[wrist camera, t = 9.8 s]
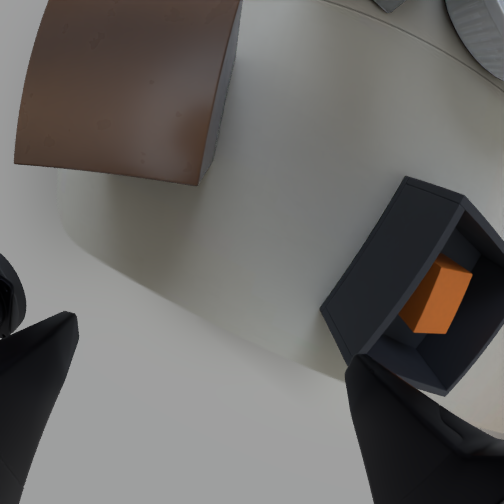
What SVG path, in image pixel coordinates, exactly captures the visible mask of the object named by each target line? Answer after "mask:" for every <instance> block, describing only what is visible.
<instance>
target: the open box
mask: <svg viewBox="0 0 504 504" xmlns="http://www.w3.org/2000/svg"><path fill="white" fill-rule="evenodd" d="M440 253H442V254H444V255H446V256H447V257H449V258H450V259H452V260H453V261H455V262H456V263H458V264H459V265H460V266H462V267H463V268H465V269H466V270H468V271H469V272H470V273H472V274H473V275H472V277H471V280H470V282H469V285H468V287H467V290H466V292H465V294H464V296H463V299H462V301H461V303H460V305H459V308H458V310H457V312H456V314H455V316H454V318H453V320H452V322H451V324H450V326H449V328H448V330H447V332H446V334H435V333H414V332H412V330H411V329H410V328H409V327H408V326H407V324H406V323H405V322H404V321H403V320H402V318H401V317H400V316H399V315H398V313H399V312H400V311H401V309H402V308H403V306H404V305H405V304H406V302H407V301H408V300H409V298H410V297H411V295H412V294H413V293H414V291H415V290H416V288H417V287H418V285H419V284H420V283H421V281H422V280H423V278H424V277H425V275H426V274H427V272H428V271H429V269H430V268H431V266H432V265H433V263H434V261H435V260H436V258H437V257H438V255H439V254H440ZM320 311H321V313H322V315H323V317H324V319H325V321H326V323H327V325H328V327H329V329H330V331H331V333H332V335H333V337H334V339H335V341H336V343H337V346H338V348H339V350H340V352H341V354H342V356H343V358H344V360H345V362H346V364H347V366H349V364H350V361H351V359H352V357H353V356H354V355H355V354H357V353H358V354H367V355H369V356H370V357H372V358H373V359H374V360H376V361H377V362H379V363H380V364H381V365H383V366H384V367H386V368H387V369H389V370H390V371H391V372H393V373H394V374H396V375H397V376H399V377H400V378H402V379H403V380H404V381H406V382H407V383H409V384H410V385H412V386H413V387H414V388H417V389H420V390H423V391H427V392H430V393H433V394H437V395H440V396H444V397H445V396H446V395H447V394H448V393H449V391H451V390H452V389H453V388H454V386H455V385H456V384H457V383H458V382H459V381H460V380H461V379H462V377H463V376H464V375H465V374H466V373H467V371H468V370H469V369H470V368H471V367H472V365H473V364H474V363H475V362H476V361H477V359H478V358H479V357H480V355H481V354H482V353H483V352H484V350H485V349H486V348H487V346H488V345H489V344H490V342H491V341H492V340H493V338H494V337H495V336H496V334H497V333H498V331H499V330H500V328H501V327H502V326H503V324H504V241H503V240H502V239H501V237H500V236H499V235H498V234H497V232H496V231H495V230H494V229H493V227H492V226H491V225H490V224H489V222H488V221H487V220H486V219H485V218H484V217H483V215H482V214H481V213H480V212H479V211H478V210H477V208H476V207H475V206H474V205H473V204H472V203H471V202H470V201H469V200H468V198H467V197H466V196H465V195H462V194H459V193H457V192H454V191H451V190H448V189H445V188H442V187H439V186H436V185H433V184H430V183H427V182H424V181H421V180H418V179H414V178H411V177H408V176H405V178H404V180H403V181H402V183H401V185H400V187H399V188H398V190H397V192H396V193H395V195H394V197H393V198H392V200H391V202H390V203H389V205H388V207H387V208H386V210H385V212H384V213H383V215H382V216H381V218H380V220H379V221H378V223H377V224H376V226H375V228H374V229H373V231H372V232H371V234H370V235H369V237H368V239H367V240H366V242H365V243H364V245H363V246H362V248H361V249H360V251H359V252H358V254H357V255H356V257H355V258H354V260H353V261H352V263H351V264H350V266H349V267H348V269H347V270H346V272H345V273H344V275H343V276H342V278H341V279H340V281H339V282H338V283H337V285H336V286H335V288H334V289H333V291H332V292H331V293H330V295H329V296H328V298H327V299H326V300H325V302H324V303H323V305H322V306H321V307H320Z"/></svg>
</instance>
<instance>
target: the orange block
mask: <svg viewBox="0 0 504 504" xmlns="http://www.w3.org/2000/svg"><path fill="white" fill-rule="evenodd" d="M472 275H473V274H472V273H470V272H469V271H468V270H466V269H465V268H463V267H462V266H460V265H459V264H458V263H456V262H455V261H453V260H452V259H450V258H449V257H447V256H446V255H444V254H442V253H440V254H439V255H438V257H437V258H436V260H435V261H434V263H433V265H432V266H431V268H430V269H429V271H428V272H427V274H426V275H425V277H424V278H423V280H422V281H421V283H420V284H419V285H418V287H417V288H416V290H415V291H414V293H413V294H412V295H411V297H410V298H409V300H408V301H407V302H406V304H405V305H404V306H403V308H402V309H401V311H400V312H399V313H398V315H399V316H400V317H401V318H402V320H403V321H404V322H405V323H406V324H407V326H408V327H409V328H410V329H411V330H412V332H414V333H435V334H446V332H447V330H448V328H449V326H450V324H451V322H452V320H453V318H454V316H455V314H456V312H457V310H458V308H459V305H460V303H461V301H462V299H463V296H464V294H465V292H466V290H467V287H468V285H469V282H470V280H471V277H472Z"/></svg>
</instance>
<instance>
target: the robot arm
mask: <svg viewBox="0 0 504 504" xmlns="http://www.w3.org/2000/svg"><path fill="white" fill-rule="evenodd" d="M8 287H9V288H8ZM13 295H14V286H13V284H12V283H11V282H10V281H9V280H7V279H6V278H4V277H3V276H1V275H0V338H2V339H1V340H0V504H19V501H20V498H21V495H22V491H23V489H24V488H23V486H24V485H25V482H26V478H27V475H28V472H29V469H30V466H31V463H32V460H33V457H34V455H35V452H36V449H37V447H38V444H39V441H40V439H41V436H42V433H43V431H44V428H45V426H46V423H47V421H48V418H49V416H50V413H51V411H52V409H53V407H54V404H55V402H56V399H57V397H58V395H59V393H60V390H61V388H62V386H63V384H64V381H65V379H66V376H67V373H68V370H69V367H70V364H71V361H72V358H73V355H74V352H75V349H76V346H77V343H78V340H79V332H78V322H77V316H76V315H75V313H71V312H67V311H63V312H61V313H59V314H56V315H54V316H52V317H49V318H47V319H45V320H43V321H41V322H38V323H36V324H34V325H32V326H29V327H27V328H25V329H23V330H21V331H18V332H16V333H14V334H12V335H10V334H11V317H12V305H13ZM345 382H346V388H347V394H348V399H349V406H350V412H351V416H352V420H353V424H354V428H355V431H356V435H357V439H358V442H359V446H360V449H361V453H362V457H363V461H364V465H365V469H366V473H367V477H368V480H369V485H370V489H371V493H372V497H373V501H374V504H504V440H501V439H497V438H494V437H492V436H490V435H489V434H486V433H485V432H483V431H481V430H480V429H478V428H476V427H474V426H473V425H471V424H469V423H467V422H466V421H464V420H462V419H461V418H459V417H457V416H456V415H454V414H453V413H451V412H450V411H448V410H447V409H445V408H444V407H442V406H441V405H440V406H439V404H438V403H436V402H435V401H433V400H432V399H430V398H429V397H428V396H426V395H425V394H423V393H422V392H420V391H419V390H417V389H416V388H414V387H413V386H412V385H410V384H409V383H407V382H406V381H404V380H403V379H402V378H400V377H399V376H397V375H396V374H394V373H393V372H391V371H390V370H389V369H387V368H386V367H384V366H383V365H381V364H380V363H379V362H377V361H376V360H374V359H373V358H372V357H370V356H369V355H367V354H358V353H357V354H355V355H354V356H353V357H352V359H351V361H350V364H349V366H348V368H347V370H346V372H345Z"/></svg>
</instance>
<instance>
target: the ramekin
mask: <svg viewBox="0 0 504 504" xmlns="http://www.w3.org/2000/svg"><path fill="white" fill-rule="evenodd" d="M445 2H446V6H447V10H448V13H449V16H450V18H451V21H452V23H453V25H454V27H455V29H456V31H457V33H458V35H459V37H460V39H461V40H462V42H463V43H464V45H465V46H466V48H467V49H468V50H469V52H470V53H471V54H472V56H473V57H474V58H475V59H476V60H477V61H478V62H479V63H480V64H481V65H482V66H483V67H484V68H485V69H486V70H488V71H489V72H490V73H491V74H493V75H494V76H495V77H497V78H499V79H501V80H503V81H504V0H445Z"/></svg>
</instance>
